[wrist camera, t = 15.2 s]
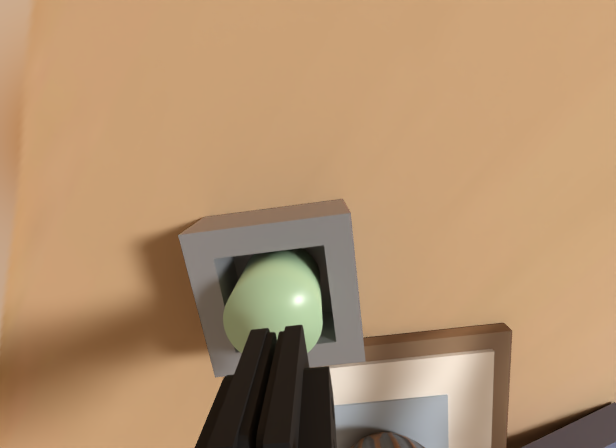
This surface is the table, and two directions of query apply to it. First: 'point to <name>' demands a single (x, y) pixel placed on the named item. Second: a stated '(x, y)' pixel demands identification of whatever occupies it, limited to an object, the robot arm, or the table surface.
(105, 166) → the table surface
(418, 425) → the picture frame
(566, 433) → the marker
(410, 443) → the vase
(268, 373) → the robot arm
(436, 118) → the table surface
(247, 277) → the button
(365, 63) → the table surface
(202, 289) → the button box
